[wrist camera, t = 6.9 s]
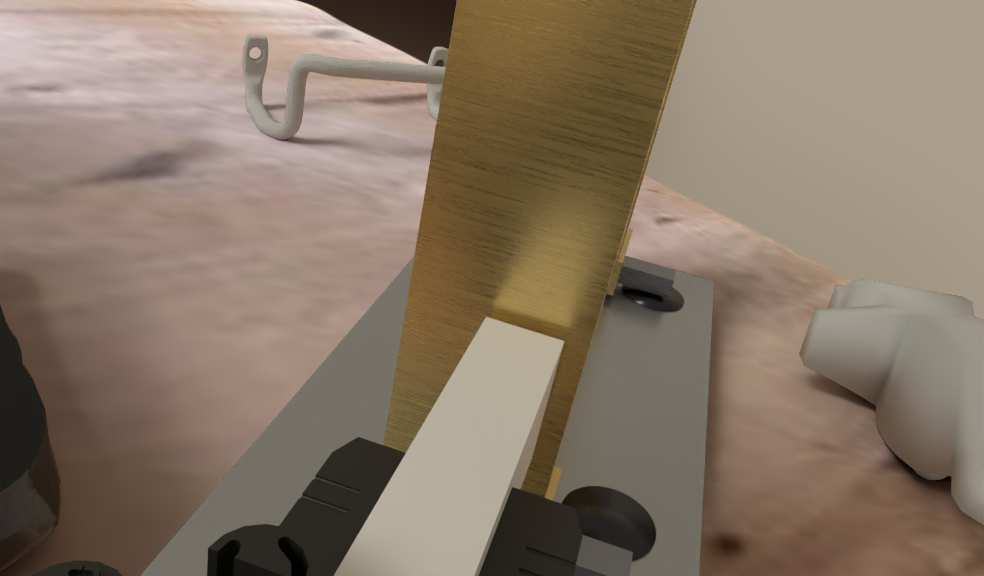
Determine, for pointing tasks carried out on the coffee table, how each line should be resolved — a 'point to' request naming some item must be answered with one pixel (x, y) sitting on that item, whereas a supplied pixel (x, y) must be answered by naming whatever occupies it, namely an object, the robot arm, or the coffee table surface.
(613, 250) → the sliding leg
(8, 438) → the black sponge
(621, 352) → the steel plate
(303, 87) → the bracket
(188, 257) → the coffee table surface
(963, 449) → the bunny figurine
